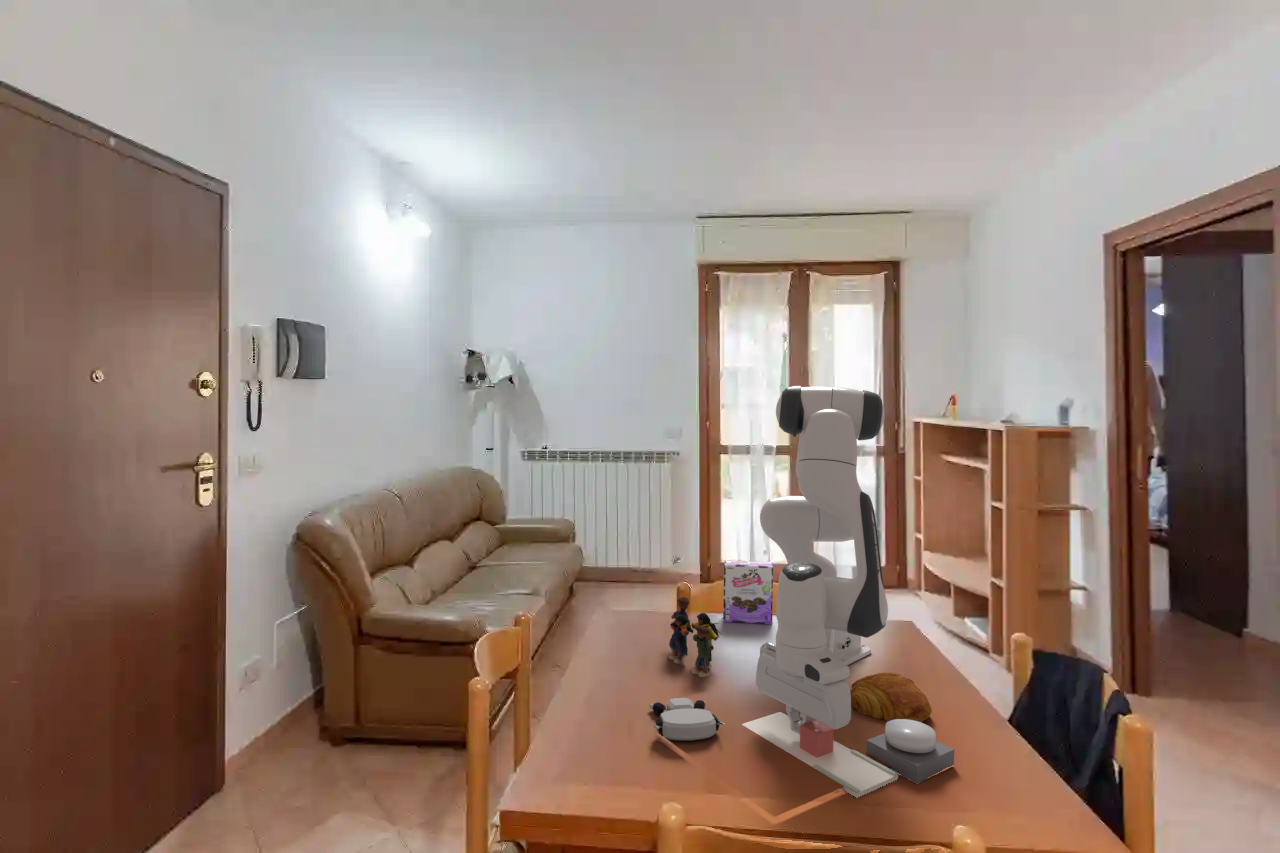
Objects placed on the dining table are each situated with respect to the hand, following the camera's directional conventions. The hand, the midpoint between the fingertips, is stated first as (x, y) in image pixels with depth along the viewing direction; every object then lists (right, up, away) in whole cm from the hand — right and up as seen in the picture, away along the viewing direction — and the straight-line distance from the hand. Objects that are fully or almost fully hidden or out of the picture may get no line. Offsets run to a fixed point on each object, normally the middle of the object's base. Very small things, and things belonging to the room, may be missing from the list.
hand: (799, 732), depth 123 cm
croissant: (+21, -2, +14) cm, 26 cm away
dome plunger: (+18, -1, -6) cm, 18 cm away
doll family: (-16, -1, +40) cm, 44 cm away
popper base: (+18, -3, -6) cm, 19 cm away
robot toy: (-20, -2, +6) cm, 21 cm away
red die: (+2, -2, -3) cm, 4 cm away
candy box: (+2, 0, +71) cm, 71 cm away
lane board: (+1, -2, -3) cm, 4 cm away
